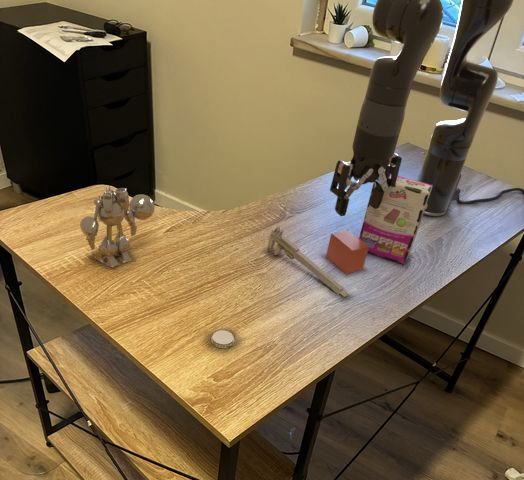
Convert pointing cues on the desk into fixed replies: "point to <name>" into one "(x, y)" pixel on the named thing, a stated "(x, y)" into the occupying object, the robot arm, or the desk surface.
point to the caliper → (301, 259)
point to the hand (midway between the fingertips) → (357, 210)
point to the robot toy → (115, 223)
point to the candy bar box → (395, 219)
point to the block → (347, 251)
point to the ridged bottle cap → (222, 338)
